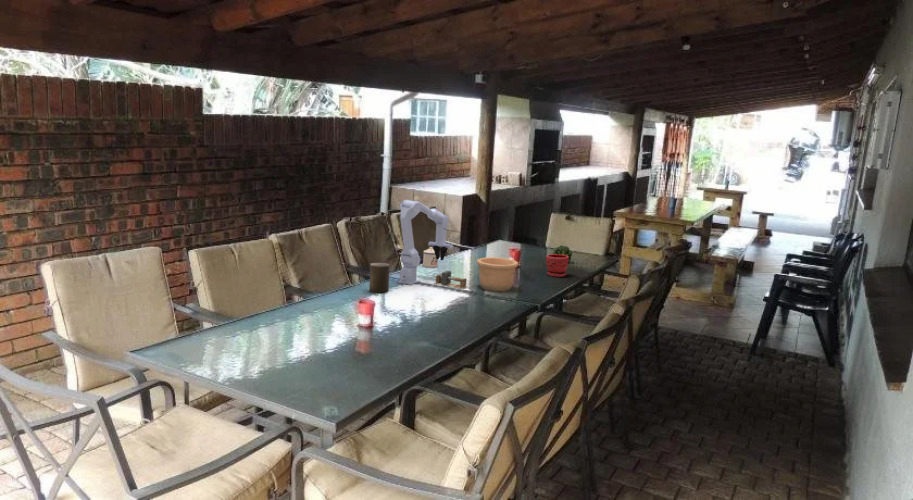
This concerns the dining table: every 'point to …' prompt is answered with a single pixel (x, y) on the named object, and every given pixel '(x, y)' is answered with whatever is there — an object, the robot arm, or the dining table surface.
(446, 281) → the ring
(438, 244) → the robot arm
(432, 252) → the teacup with lid
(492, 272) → the pottery
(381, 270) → the pillar candle
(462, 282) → the rail
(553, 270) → the plant pot
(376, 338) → the dining table surface
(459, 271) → the dining table surface
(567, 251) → the vegetable
